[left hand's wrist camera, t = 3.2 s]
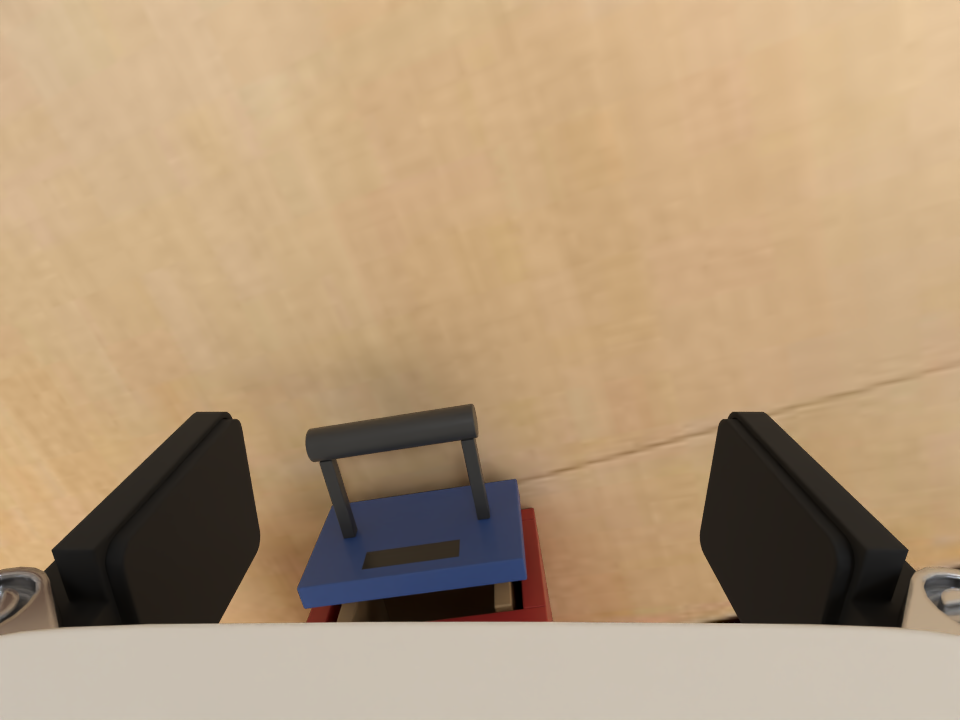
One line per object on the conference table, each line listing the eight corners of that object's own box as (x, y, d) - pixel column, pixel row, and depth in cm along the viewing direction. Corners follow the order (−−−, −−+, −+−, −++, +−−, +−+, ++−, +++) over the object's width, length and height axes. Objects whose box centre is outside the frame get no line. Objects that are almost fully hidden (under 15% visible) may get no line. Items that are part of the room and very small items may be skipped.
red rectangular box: (338, 534, 32) (293, 655, 25) (533, 507, 31) (548, 623, 24) (414, 767, 39) (396, 916, 32) (574, 749, 39) (596, 898, 31)
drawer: (300, 407, 28) (253, 474, 23) (498, 376, 28) (501, 437, 22) (408, 741, 37) (393, 850, 31) (560, 724, 36) (574, 833, 31)
